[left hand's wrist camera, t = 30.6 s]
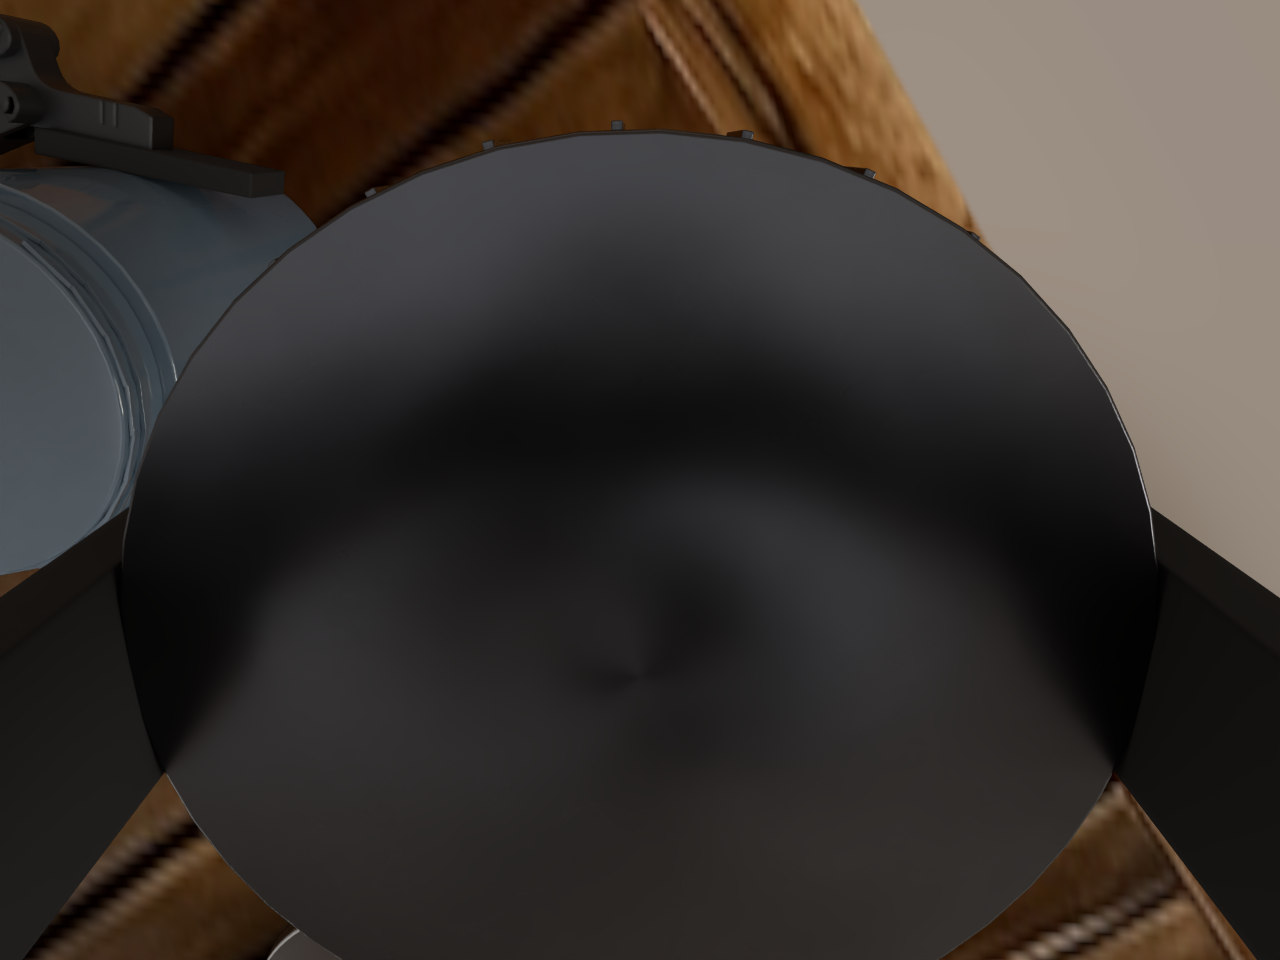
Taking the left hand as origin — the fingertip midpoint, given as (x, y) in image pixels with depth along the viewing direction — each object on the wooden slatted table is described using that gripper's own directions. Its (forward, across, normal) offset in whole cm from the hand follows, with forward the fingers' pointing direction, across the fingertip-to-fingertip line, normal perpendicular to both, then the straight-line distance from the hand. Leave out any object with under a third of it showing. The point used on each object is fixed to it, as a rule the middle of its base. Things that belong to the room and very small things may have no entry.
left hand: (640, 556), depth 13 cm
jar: (+25, +17, 0) cm, 30 cm away
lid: (-3, 0, 0) cm, 3 cm away
